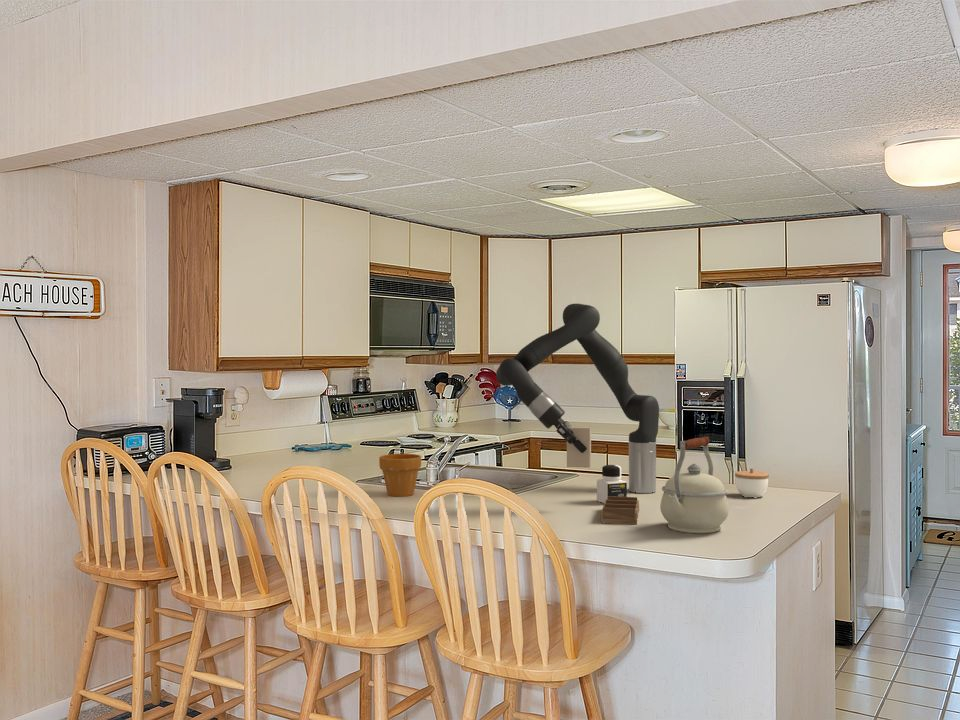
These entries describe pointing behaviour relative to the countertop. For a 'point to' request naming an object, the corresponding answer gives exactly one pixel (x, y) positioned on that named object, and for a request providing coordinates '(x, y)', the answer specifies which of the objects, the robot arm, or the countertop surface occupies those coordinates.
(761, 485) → the lidded jar
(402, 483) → the flower pot
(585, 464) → the tall beige block
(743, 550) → the countertop surface
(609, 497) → the rack
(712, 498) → the kettle
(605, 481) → the medicine bottle
